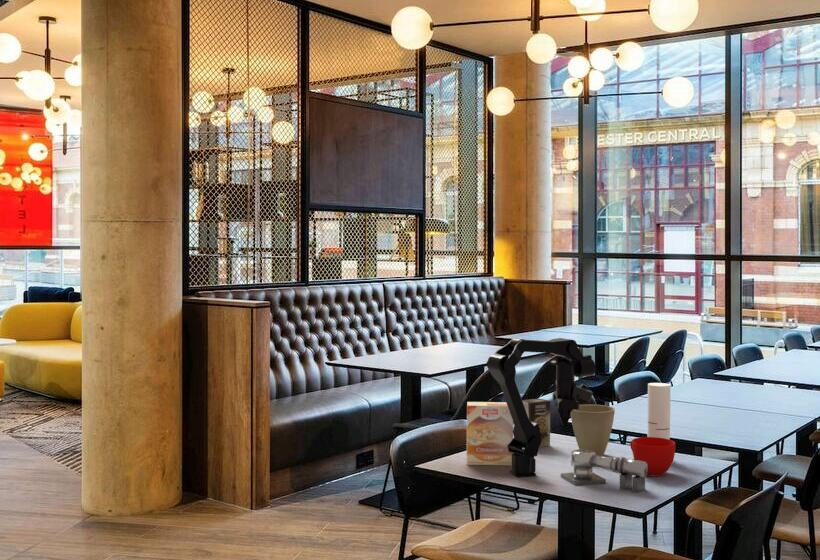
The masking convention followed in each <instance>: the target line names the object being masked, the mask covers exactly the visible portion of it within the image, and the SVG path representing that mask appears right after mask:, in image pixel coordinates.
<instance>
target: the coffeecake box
mask: <svg viewBox="0 0 820 560" xmlns="http://www.w3.org/2000/svg"><path fill="white" fill-rule="evenodd" d="M466 403H467V404H466V465H467V466H511V467H512V453H511V452H509V450H508V447H507V446H508V445H509V443H510V442H511V441H512V439H513V438H514V434H513V429H514V422H513V419H512V416H511V414H510V411H509V408H508V406H507V403H506V401H505V402H504V401H503V402H501V401H498V402H497V401H496V402H495V401H494V402H493V401H467V402H466Z"/></svg>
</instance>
